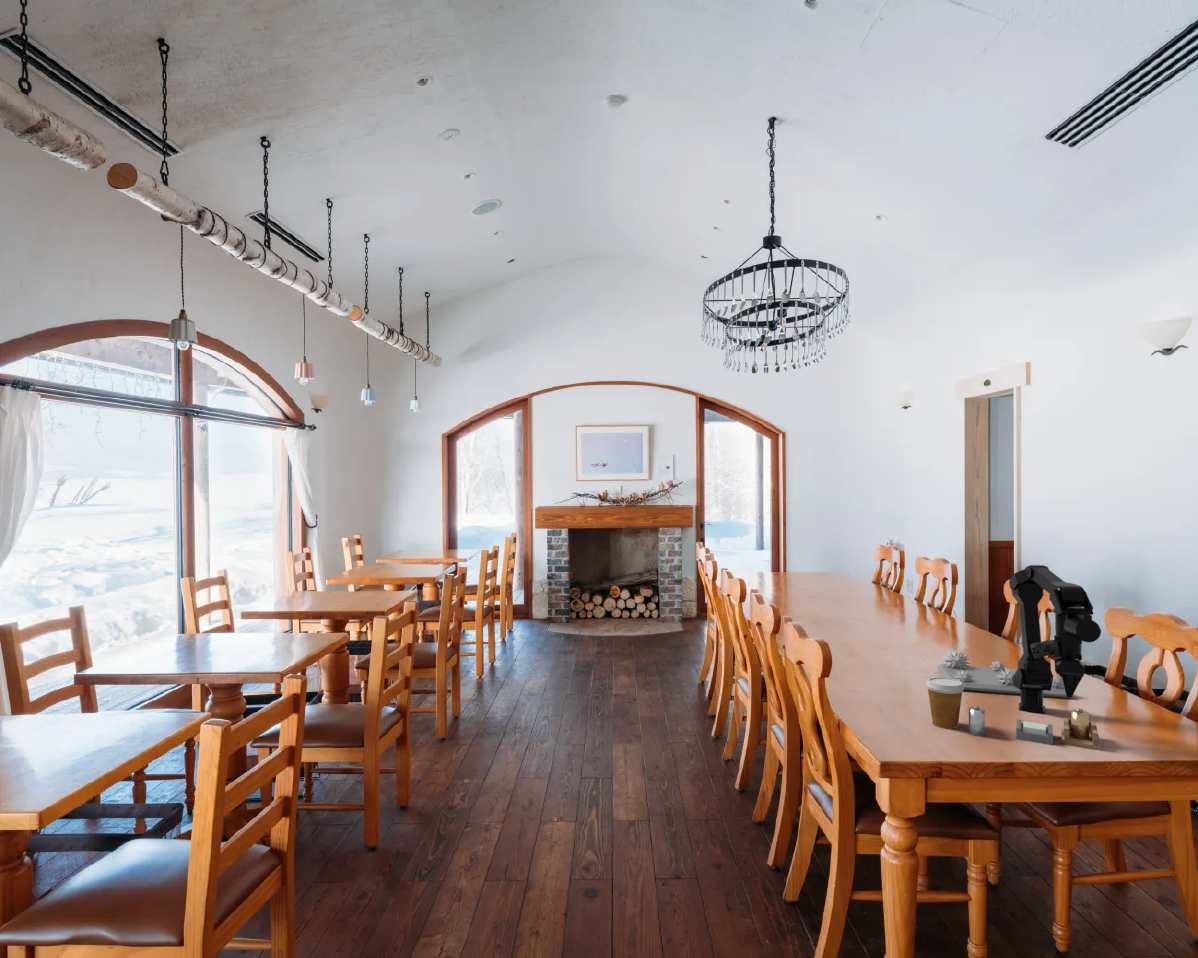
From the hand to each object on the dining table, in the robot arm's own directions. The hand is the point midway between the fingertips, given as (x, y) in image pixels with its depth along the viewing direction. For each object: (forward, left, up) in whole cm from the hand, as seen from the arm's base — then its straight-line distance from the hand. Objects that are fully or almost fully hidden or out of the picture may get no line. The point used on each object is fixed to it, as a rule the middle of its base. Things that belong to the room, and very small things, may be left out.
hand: (1068, 692), depth 183 cm
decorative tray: (-45, -18, -12) cm, 50 cm away
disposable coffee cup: (+8, -29, -12) cm, 32 cm away
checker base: (+6, -8, -12) cm, 15 cm away
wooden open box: (+3, +2, -12) cm, 12 cm away
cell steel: (+11, -21, -12) cm, 26 cm away
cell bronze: (+3, +2, -11) cm, 11 cm away
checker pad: (+6, -8, -10) cm, 13 cm away
